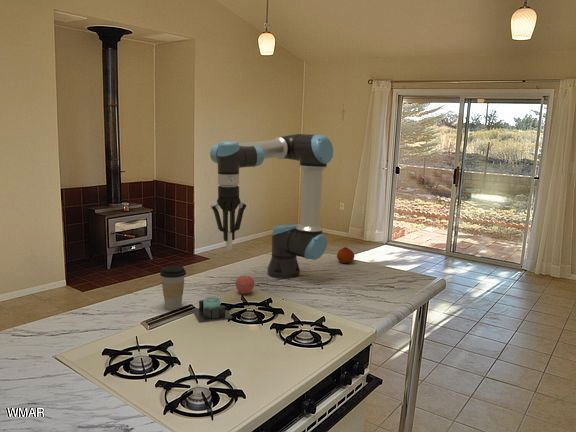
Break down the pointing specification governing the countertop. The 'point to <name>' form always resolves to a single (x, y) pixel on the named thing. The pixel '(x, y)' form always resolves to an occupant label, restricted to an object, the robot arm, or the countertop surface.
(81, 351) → the countertop surface
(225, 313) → the dark grey raised block
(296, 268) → the robot arm
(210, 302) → the cap
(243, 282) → the apple
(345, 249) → the fruit
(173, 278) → the coffee cup
